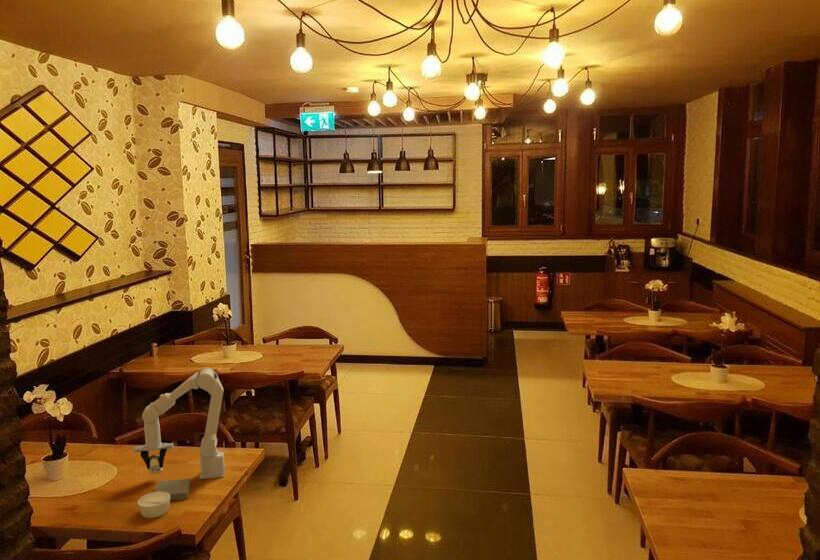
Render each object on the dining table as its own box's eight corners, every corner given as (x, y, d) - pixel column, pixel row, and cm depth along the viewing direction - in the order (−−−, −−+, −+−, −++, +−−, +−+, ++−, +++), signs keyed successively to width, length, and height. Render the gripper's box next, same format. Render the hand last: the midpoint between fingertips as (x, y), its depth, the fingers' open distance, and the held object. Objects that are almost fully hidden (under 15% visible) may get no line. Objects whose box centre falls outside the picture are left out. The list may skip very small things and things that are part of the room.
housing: (163, 467, 260) (162, 452, 259) (161, 473, 255) (160, 457, 254) (149, 468, 259) (148, 453, 258) (147, 474, 254) (146, 458, 253)
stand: (190, 484, 254) (190, 478, 254) (187, 498, 242) (186, 492, 242) (158, 487, 251) (158, 481, 251) (153, 502, 240) (153, 496, 239)
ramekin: (138, 522, 226) (137, 509, 225) (138, 508, 236) (137, 494, 235) (172, 516, 230) (171, 502, 230) (170, 501, 240) (169, 488, 240)
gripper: (173, 429, 260) (175, 461, 262) (135, 433, 257) (138, 465, 259) (170, 436, 253) (173, 468, 256) (131, 440, 250) (134, 472, 252)
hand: (155, 467), depth 257 cm, fingers closed on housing, 4 cm apart
